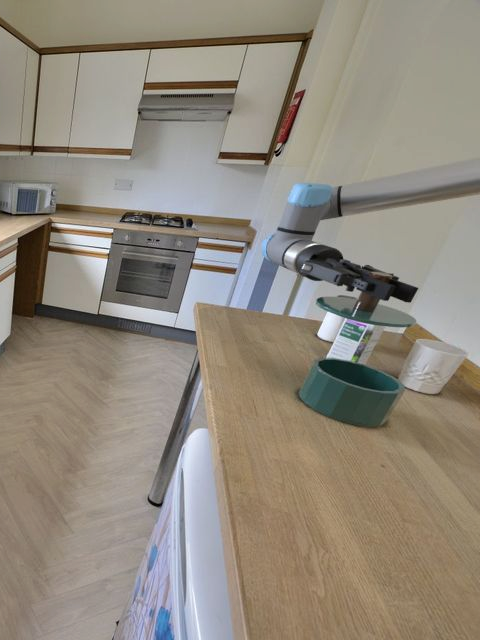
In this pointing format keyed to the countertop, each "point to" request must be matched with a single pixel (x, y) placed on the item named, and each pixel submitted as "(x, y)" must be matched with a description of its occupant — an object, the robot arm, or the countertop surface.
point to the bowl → (351, 392)
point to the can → (331, 325)
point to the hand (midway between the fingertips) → (400, 294)
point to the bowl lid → (367, 308)
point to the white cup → (430, 365)
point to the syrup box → (355, 341)
